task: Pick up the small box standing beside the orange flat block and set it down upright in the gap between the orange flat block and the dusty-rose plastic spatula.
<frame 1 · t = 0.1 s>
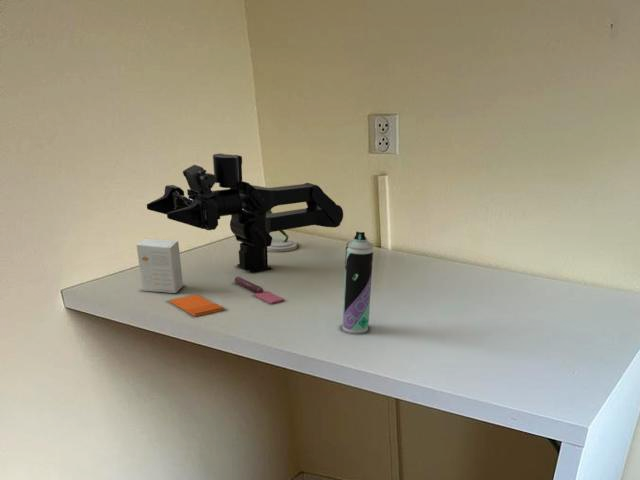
hand: (157, 211, 150), 17 cm above the table, tool horizontal, fingers open, 9 cm apart
small box: (163, 289, 158), on the table
monster figurine: (275, 246, 193), on the table
spray can: (355, 329, 144), on the table
spatula: (257, 292, 159), on the table
orange flat block: (196, 305, 150), on the table
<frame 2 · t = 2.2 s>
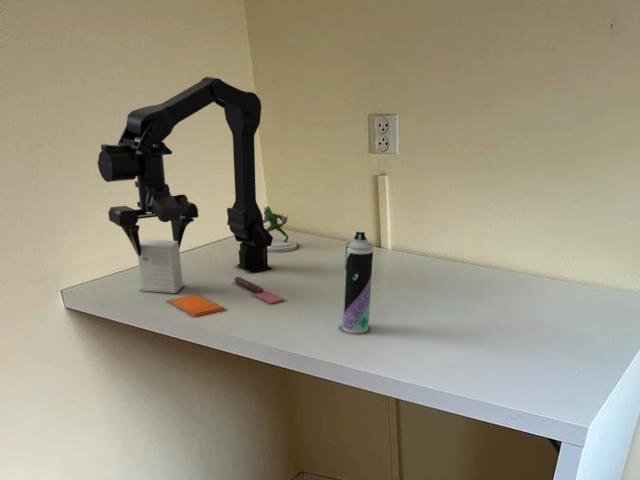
hand: (158, 252, 153), 8 cm above the table, tool pointing down, fingers open, 9 cm apart
small box: (163, 289, 158), on the table, touching gripper
everything else where it was.
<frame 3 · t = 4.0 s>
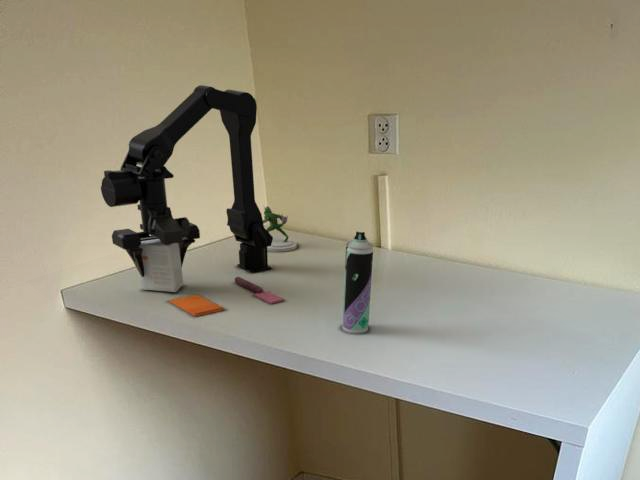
hand: (161, 273, 155), 4 cm above the table, tool pointing down, fingers closed on small box, 9 cm apart
small box: (163, 288, 158), on the table, touching gripper
everything else where it was.
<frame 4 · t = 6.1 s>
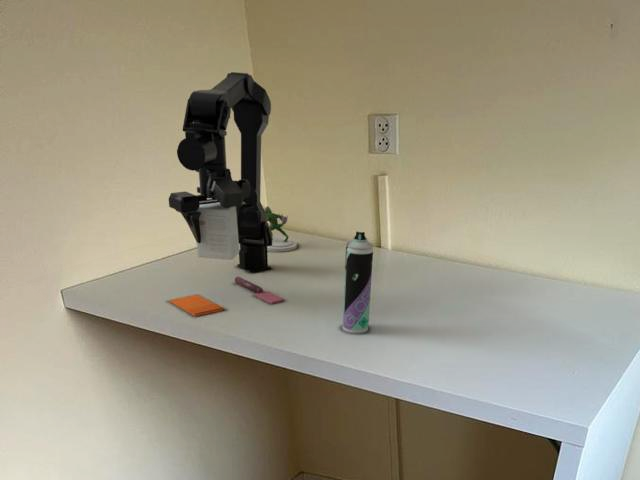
hand: (217, 240, 148), 13 cm above the table, tool pointing down, fingers closed on small box, 9 cm apart
small box: (218, 256, 150), point 9 cm above the table, touching gripper
everything else where it was.
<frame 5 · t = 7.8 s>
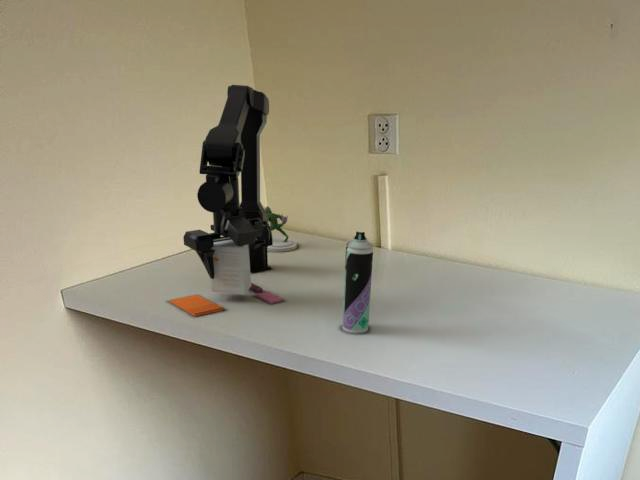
hand: (229, 275, 152), 5 cm above the table, tool pointing down, fingers closed on small box, 9 cm apart
small box: (231, 290, 154), point 2 cm above the table, touching gripper
everything else where it was.
when the fingers open (4 cm above the table, at t = 9.3 s): small box stays where it is, on the table.
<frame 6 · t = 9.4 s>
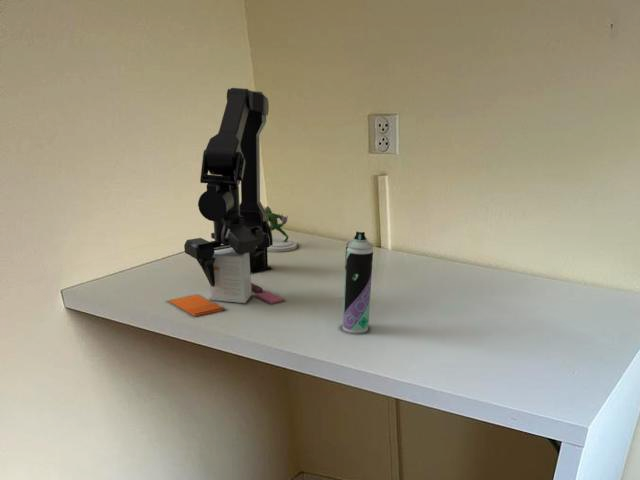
hand: (230, 282, 153), 4 cm above the table, tool pointing down, fingers open, 9 cm apart
small box: (231, 298, 155), on the table, touching gripper
everything else where it was.
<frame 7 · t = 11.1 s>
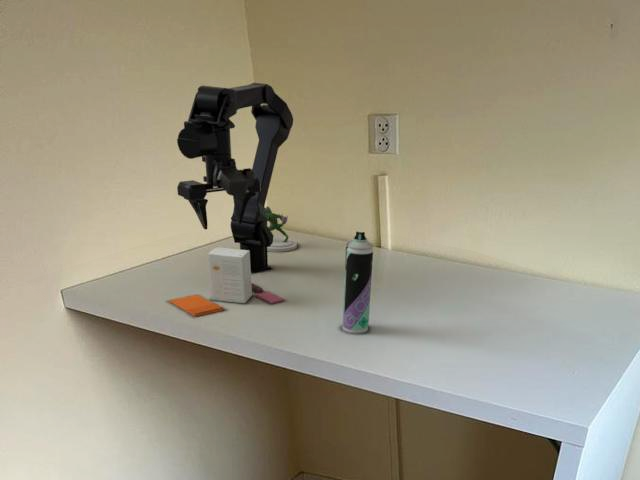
hand: (222, 226, 157), 13 cm above the table, tool pointing down, fingers open, 9 cm apart
small box: (232, 299, 155), on the table
everything else where it was.
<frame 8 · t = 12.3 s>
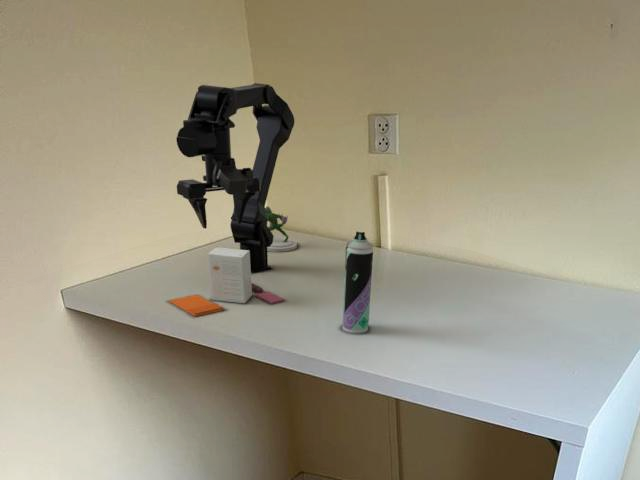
hand: (221, 225, 157), 13 cm above the table, tool pointing down, fingers open, 9 cm apart
nothing on the table moved.
at the end: small box inside the target area (0.2 cm from its centre), on the table; small box tilted 0°; the gripper is holding nothing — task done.
